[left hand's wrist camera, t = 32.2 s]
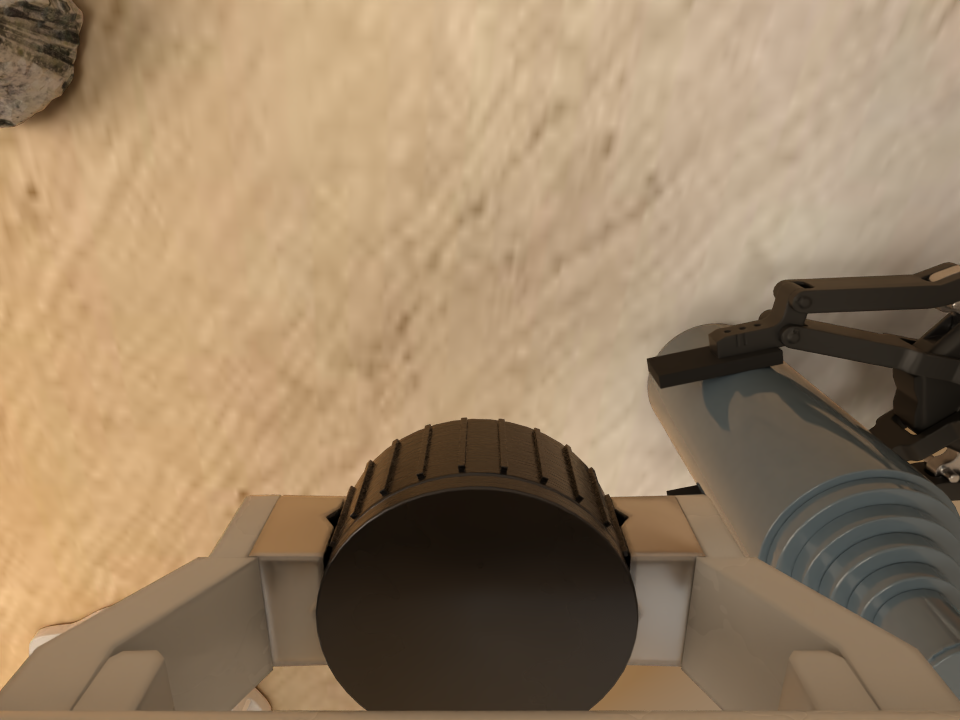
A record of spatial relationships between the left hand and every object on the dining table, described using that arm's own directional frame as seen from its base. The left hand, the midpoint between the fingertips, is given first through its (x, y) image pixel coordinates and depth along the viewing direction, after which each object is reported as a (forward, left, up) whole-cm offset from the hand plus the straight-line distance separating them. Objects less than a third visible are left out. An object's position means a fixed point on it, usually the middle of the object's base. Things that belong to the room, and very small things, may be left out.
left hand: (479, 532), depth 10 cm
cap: (0, 0, +2) cm, 2 cm away
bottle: (-3, -18, -32) cm, 37 cm away
